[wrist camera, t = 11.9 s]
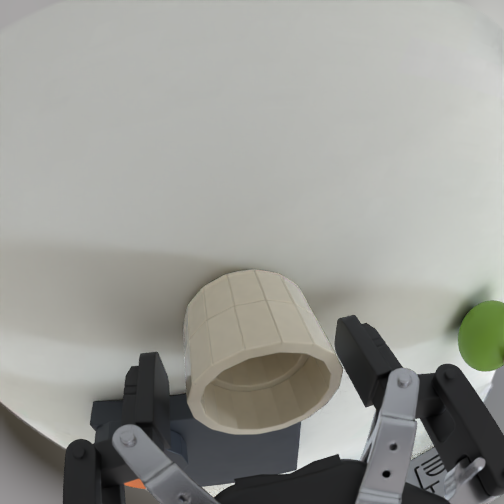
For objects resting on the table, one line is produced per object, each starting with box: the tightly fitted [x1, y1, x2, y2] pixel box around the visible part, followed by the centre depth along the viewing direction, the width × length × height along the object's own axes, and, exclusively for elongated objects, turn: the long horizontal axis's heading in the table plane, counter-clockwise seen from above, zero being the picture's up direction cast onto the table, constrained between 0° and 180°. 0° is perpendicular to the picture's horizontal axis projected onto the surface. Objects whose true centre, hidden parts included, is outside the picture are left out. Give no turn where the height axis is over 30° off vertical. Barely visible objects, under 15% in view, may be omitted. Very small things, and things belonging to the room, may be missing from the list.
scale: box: [90, 394, 301, 487], centre depth 18 cm, size 13×13×4 cm
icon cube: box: [405, 447, 447, 497], centre depth 37 cm, size 10×10×10 cm
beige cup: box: [183, 269, 343, 435], centre depth 13 cm, size 6×6×5 cm
